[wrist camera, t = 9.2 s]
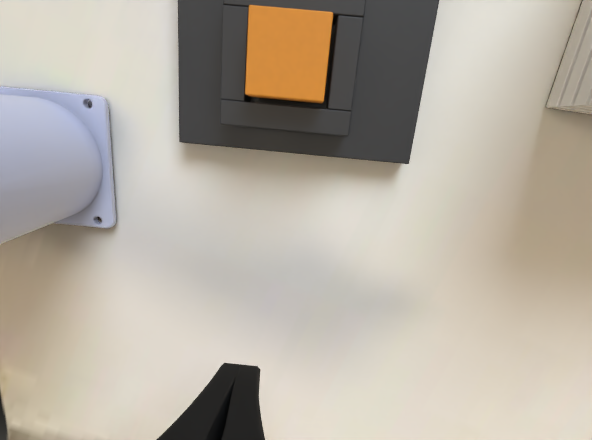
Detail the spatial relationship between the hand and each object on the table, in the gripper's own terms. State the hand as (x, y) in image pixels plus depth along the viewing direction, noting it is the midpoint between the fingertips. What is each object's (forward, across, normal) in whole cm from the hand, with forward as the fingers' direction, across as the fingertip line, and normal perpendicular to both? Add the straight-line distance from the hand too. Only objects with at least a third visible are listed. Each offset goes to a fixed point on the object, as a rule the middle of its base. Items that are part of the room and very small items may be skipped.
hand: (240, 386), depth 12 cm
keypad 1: (+10, -1, -12) cm, 16 cm away
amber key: (+8, 0, -12) cm, 14 cm away
